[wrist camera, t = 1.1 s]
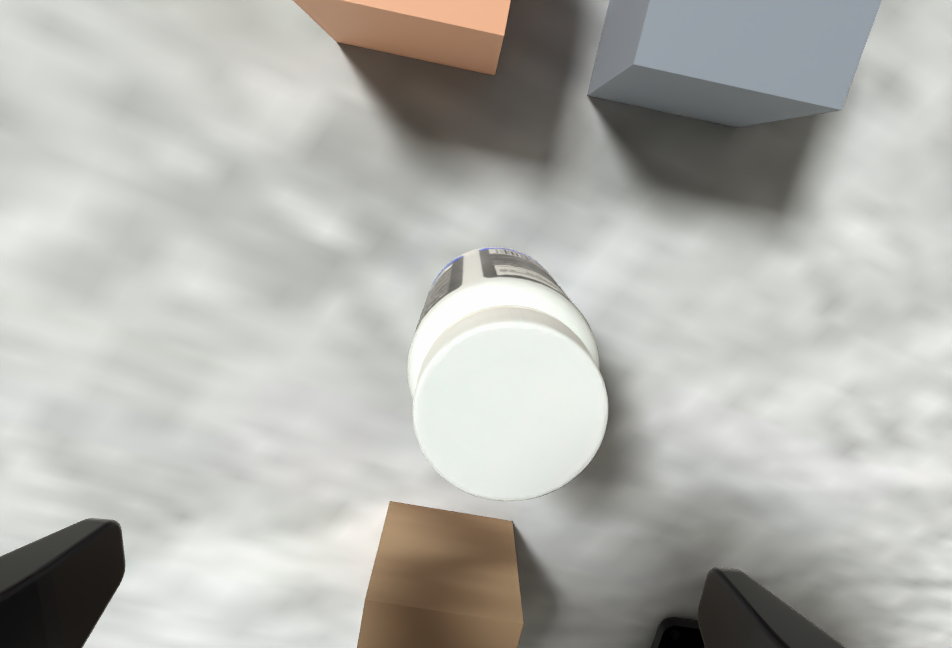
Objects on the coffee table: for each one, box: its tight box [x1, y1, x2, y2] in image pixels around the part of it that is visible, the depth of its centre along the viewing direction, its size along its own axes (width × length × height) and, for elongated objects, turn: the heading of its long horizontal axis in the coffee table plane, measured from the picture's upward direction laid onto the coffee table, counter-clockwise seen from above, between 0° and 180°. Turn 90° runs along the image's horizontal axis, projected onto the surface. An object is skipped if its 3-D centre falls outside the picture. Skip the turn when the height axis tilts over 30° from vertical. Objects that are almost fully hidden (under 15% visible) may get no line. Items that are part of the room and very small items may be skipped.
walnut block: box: [357, 501, 524, 648], centre depth 19 cm, size 5×5×5 cm
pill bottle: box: [408, 247, 608, 501], centre depth 14 cm, size 5×5×8 cm
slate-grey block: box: [587, 0, 882, 127], centre depth 13 cm, size 5×5×5 cm
